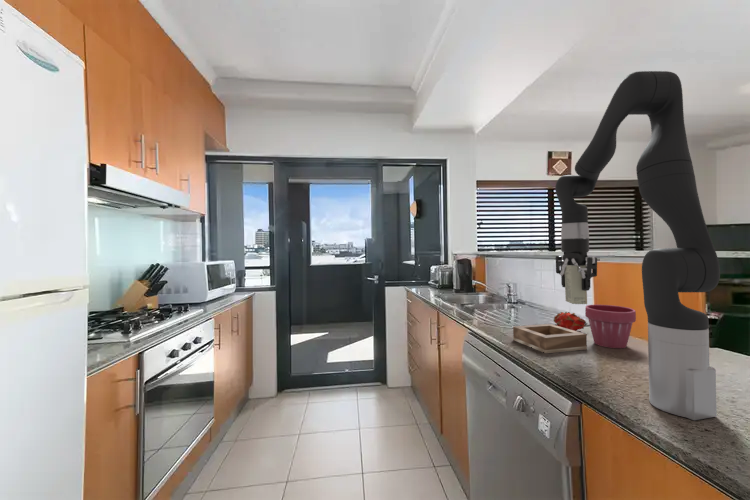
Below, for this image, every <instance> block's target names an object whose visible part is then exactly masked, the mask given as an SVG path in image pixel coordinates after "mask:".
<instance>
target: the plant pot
mask: <svg viewBox="0 0 750 500" xmlns="http://www.w3.org/2000/svg"><path fill="white" fill-rule="evenodd" d="M584 312H585V314H584V315H585V317H586V318H587V319H588V322H589V327H590V331H591V335H592V338H593V343H594V344H595V345H598V346H599V347H603V348H604V347H605V348H609V349H625V348H627V345H628V342H629V339H630V335H631V330H632V327H633V323H635V322H636V321H637V320H636V319H637V314H636V310H635V309H633V308H631V307H625V306H620V305H611V304H588V305H587V304H586V306H585V311H584Z"/></svg>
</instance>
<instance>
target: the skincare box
mask: <svg viewBox="0 0 750 500" xmlns="http://www.w3.org/2000/svg"><path fill="white" fill-rule="evenodd" d="M580 267H581V268H586V265H585V266H580ZM584 272H585V274H586V271H584ZM582 279H583V278H582V276H581V274H580V273H579V272H578V271H577V266H575V265H566V270H565V287H564V291H565V293H564V295H565V302H567V303H570V304H571V305H587V304H588V294H587V292H588V291H584V290H582Z"/></svg>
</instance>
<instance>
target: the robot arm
mask: <svg viewBox="0 0 750 500" xmlns="http://www.w3.org/2000/svg"><path fill="white" fill-rule="evenodd" d="M683 96H684V95H683V87H682V80H681V79H680V77H679V76H678V75H677V73H675V72H672V71H668V70H667V71H666V70H664V71H662V70H650V71H649V70H648V71H647V70H644V71H643V70H640V71H634V72H631V73H629V74H628V75H626V77H624V78H623V80H621V82H620V83H619V85H618V86H617V88H616V90H615V91H614V93H613V95H612V97H611V99H610V102H609V104H608V105H607V107H606V109H605V112H604V114H603V116H602V118H601V120H600V122H599V124H598V127H597V129H596V130H595V133H594V135H593V137H592V139H591V141H590V143H589V144H588V145H587V148H585V150H584V151H583V153H582V154H581V156H580V157H579V158H578V160H577V162H576V163H575V166H574V171H575V173H576V174H567V175H566V174H565V175H564V174H563V175H561V176H560V177H559V178H558V179H557V180H556V182H555V190H554V191H555V194H556V198H557V200H558V203H559V206H560V209H561V232H560V234H561V235H560V237H561V238H560V239H561V246H560V247H561V250H560V251H561V252H562V253H563V255H556V256H555V273H556V274H558V275H560V277H561V286H562V288H565V270H566V265H575V266H577V271H578V272H579V273H580V274H581V276H582V278H583V279H582V290H584V291H587V292H588V291H590V289H591V279H592V278H596V277H597V276H598V257H596V256H590V257H589V256H588V252H589V251H590V228H589V219H588V218H589V211H588V206H587V205H585V204H582V203H579V202H576V201H575V199H574V198H584V197H587V196H589V195H590V194H592V192H594V190H595V187H596V185H597V182H598V179H599V178H600V177H599V176H600V174H601V173H602V172H603V171H604V169H605V167H606V166H607V165H608V164H609V163H610V161H611V160H612V158H613V157H614V155H615V153H616V150H617V133H618V129H619V127H620V125H621V124H622V122H623V121H624V120H625V119H626V118H627V117H628V116H629V115H630V116H633V115H634V116H635V115H637V116H639V115H640V116H641V115H643V116H644V115H646V116H647V117H648V118H649V121H650V131H651V133H650V134H651V135H650V138H649V141H648V143H647V145H646V147H645V148H644V150H643V151H642V153H641V154H640V157H639V159H638V161H637V164H636V169H635V170H636V178H637V179H636V180H637V185H638V190H639V193H640V194H639V195H640V196H641V198H642V199H643V201H644V202H645V203H646V205H648V207H649V208H650V209H651V210H652V211H654V213H656V214H657V215H658V217H660V219H661V220H663V222H664V223H665V224H666V225H667V226H668V227H669V229H670V231H671V233H672V235H673V238H674V240H675V244H676V247H668V248H667V247H665V248H659V247H658V248H653V249H650V250H648V251H647V252H646V253H645V255H644V256H643V260H642V263H641V279H642V281H641V282H642V289H643V303H644V305H643V306H644V308H645V311H646V316H647V346H648V347H647V354H648V355H647V356H648V357H647V358H648V395H649V397H648V399H649V400H648V401H649V403H650V404H651V405H652V406H653V407H654V408H656V409H659V410H661V411H663V412H666V413H669V414H672V415H675V416H679V417H683V418H687V419H689V420H692V421H699V420H703V419H704V420H705V419H709V418H714V417H717V416H718V415H717V413H718V412H717V411H718V410H717V370H716V368H715V367H713V366H710V330H709V327H710V326H709V325H710V323H709V317H708V315H707V314H706V313H704V312H702V311H700V310H696V309H693V308H690V307H687V306H686V305H684V304H683V303H682V302H681V299H680V293H708V292H711V291H713V290H715V288H717V286H718V284H719V283H720V282H719V281H720V279H721V267H720V261H719V257H718V255H717V251H716V249H715V246H714V244H713V240H712V238H711V236H710V231H709V228H708V227H707V224H706V220H705V217H704V214H703V209H702V206H701V201H700V197H699V193H698V187H697V180H696V175H695V171H694V166H693V160H692V157H691V154H690V149H689V144H688V137H687V132H686V124H685V117H684V115H685V113H684V99H683ZM585 265H586V268H581V267H580V266H585ZM584 271H586V274H585V272H584Z"/></svg>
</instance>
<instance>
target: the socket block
mask: <svg viewBox="0 0 750 500" xmlns="http://www.w3.org/2000/svg"><path fill="white" fill-rule="evenodd" d="M556 325H557V324H556ZM556 325H555V324H551V323H541V324H528V325H519V326H517V325H515V326H512V331H513V333H512V337H513V341H514V342H517V343H519V344H522V345H525V346H527V347H529V348H531V347H532V349H534V350H536V351H538V352H541V353H543V352H544V353H543V354H552V353H553V354H554V353H562V352H573V351H580V350H587V349H588V347H587V346H588V345H587V344H588V343H587V341H588V340H587V339H588V338H587V333H584V332H582V331H581V332H577V331H578V330H577V331H574V330H570V329H567V328H563V327H560V326H556Z"/></svg>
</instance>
